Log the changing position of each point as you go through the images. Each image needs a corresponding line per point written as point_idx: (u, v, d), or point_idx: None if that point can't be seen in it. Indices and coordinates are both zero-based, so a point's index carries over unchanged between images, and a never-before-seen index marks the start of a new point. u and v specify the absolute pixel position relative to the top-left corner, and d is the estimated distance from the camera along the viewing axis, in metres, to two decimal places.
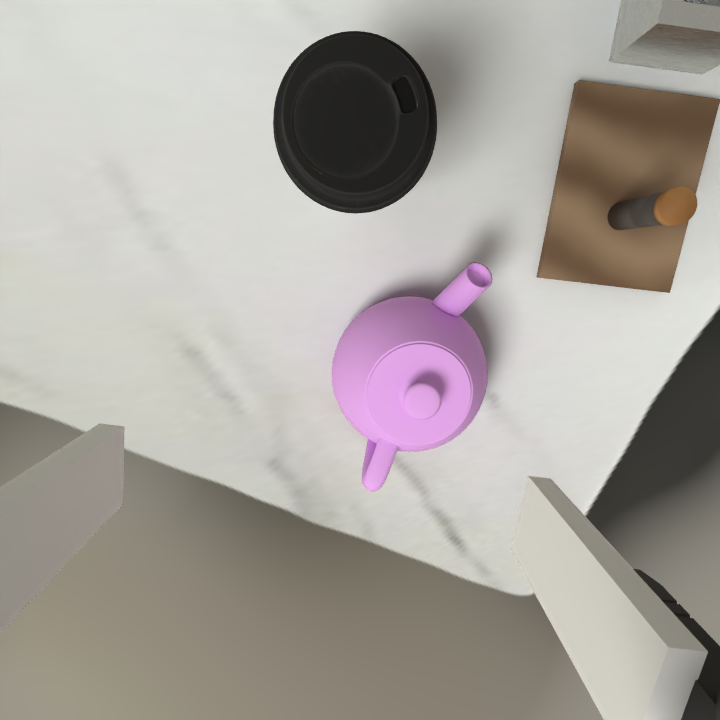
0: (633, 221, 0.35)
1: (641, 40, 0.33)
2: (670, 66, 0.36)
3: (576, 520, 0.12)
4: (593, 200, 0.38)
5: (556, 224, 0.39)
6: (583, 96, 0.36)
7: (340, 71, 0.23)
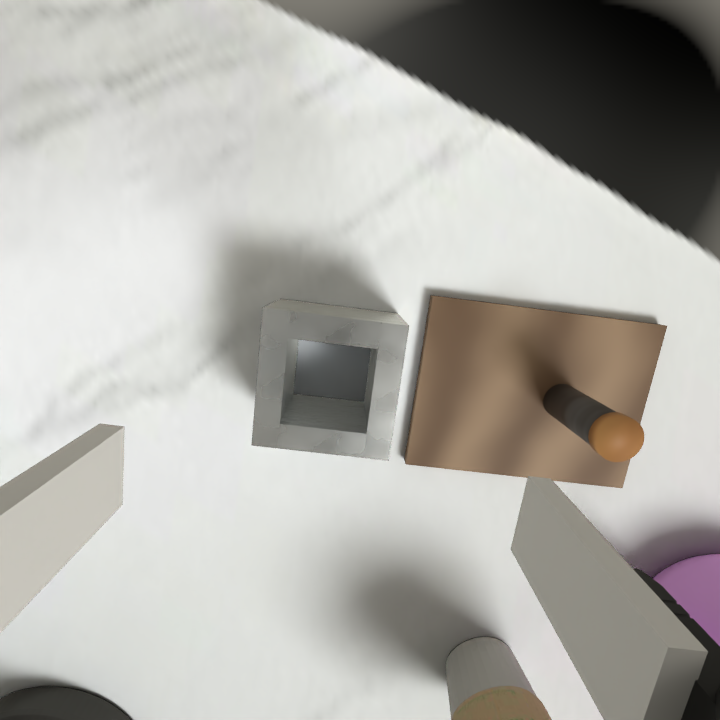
0: None
1: None
2: None
3: (576, 520, 0.12)
4: (538, 435, 0.31)
5: (561, 474, 0.32)
6: (422, 458, 0.31)
7: None
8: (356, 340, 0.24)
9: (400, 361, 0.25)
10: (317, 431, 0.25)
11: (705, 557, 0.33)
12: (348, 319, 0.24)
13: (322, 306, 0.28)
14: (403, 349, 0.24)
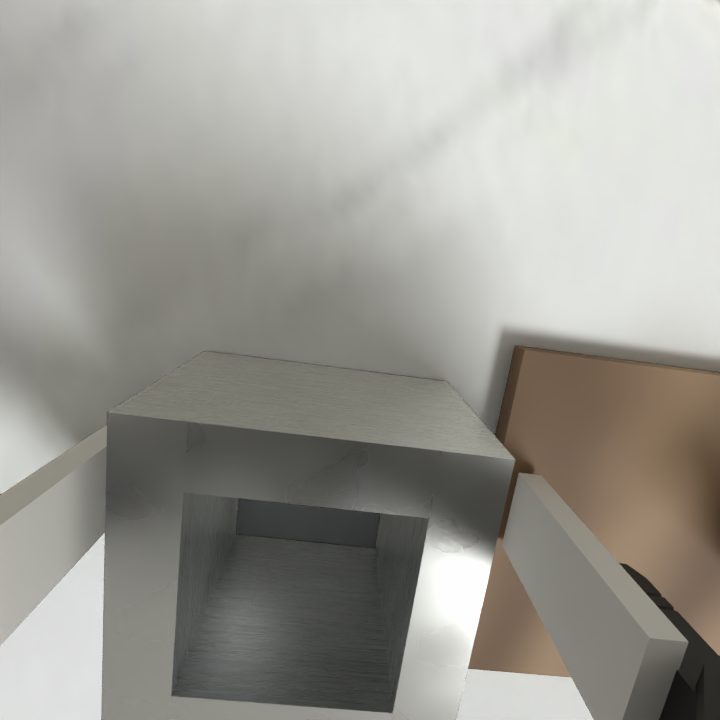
0: None
1: None
2: None
3: (564, 515, 0.12)
4: (712, 613, 0.16)
5: None
6: (488, 656, 0.16)
7: None
8: (371, 497, 0.09)
9: (486, 547, 0.09)
10: (267, 711, 0.10)
11: None
12: (349, 443, 0.09)
13: (290, 374, 0.13)
14: (496, 518, 0.09)
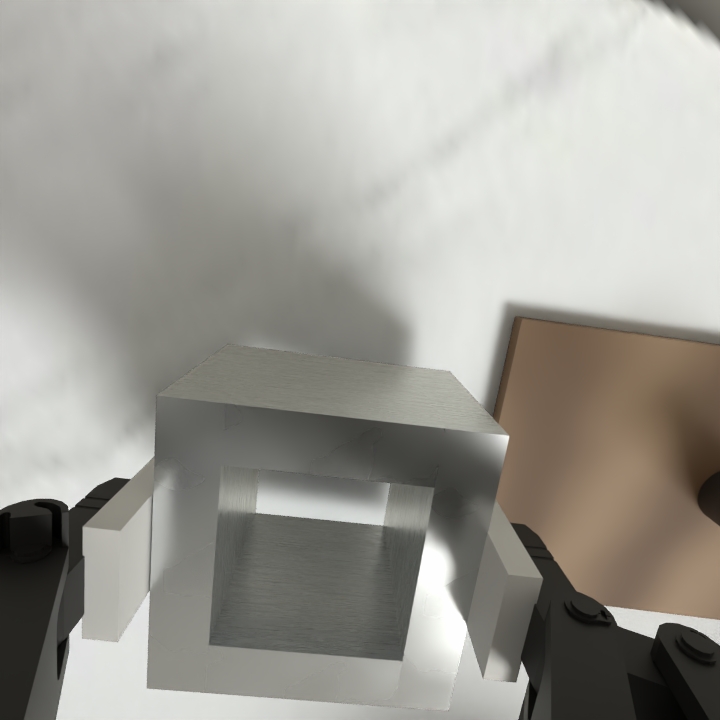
0: None
1: None
2: None
3: None
4: (684, 548, 0.19)
5: (716, 609, 0.20)
6: None
7: None
8: (384, 469, 0.10)
9: (484, 513, 0.11)
10: (292, 659, 0.11)
11: None
12: (365, 422, 0.10)
13: (307, 365, 0.14)
14: (493, 487, 0.10)
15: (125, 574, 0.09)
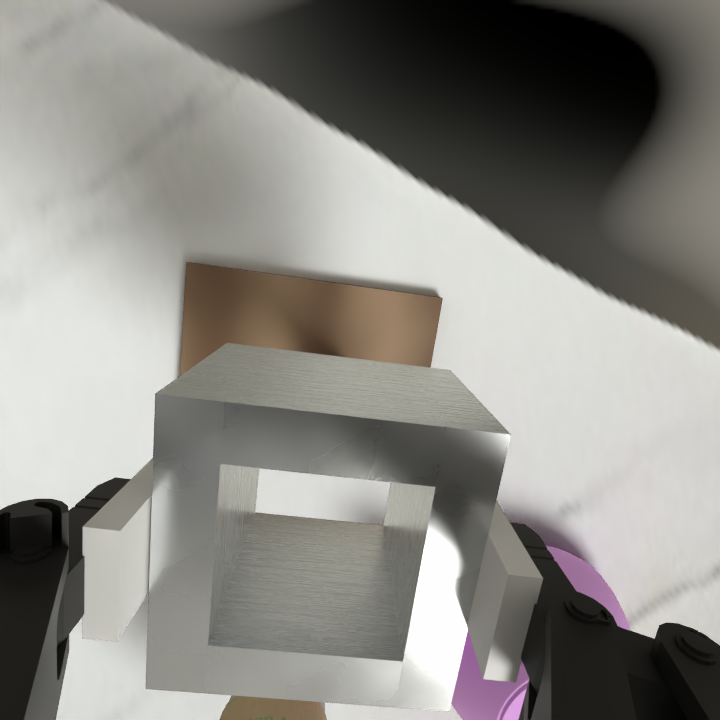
0: None
1: None
2: None
3: None
4: None
5: None
6: None
7: None
8: (384, 467, 0.10)
9: (485, 512, 0.11)
10: (292, 660, 0.11)
11: None
12: (365, 420, 0.10)
13: (307, 363, 0.14)
14: (494, 486, 0.10)
15: (125, 574, 0.09)
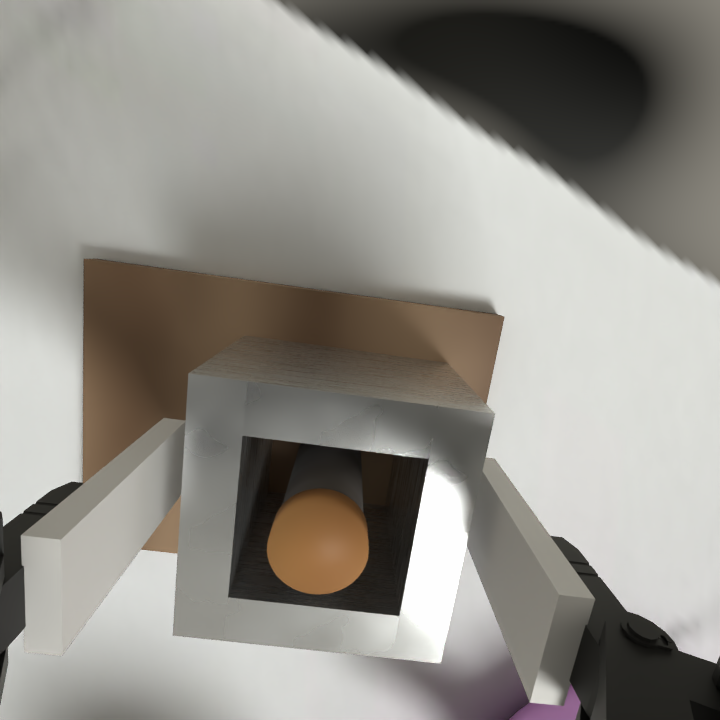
0: None
1: None
2: None
3: (507, 493, 0.13)
4: None
5: None
6: None
7: None
8: (384, 441, 0.12)
9: (473, 483, 0.12)
10: (301, 612, 0.13)
11: None
12: (368, 399, 0.11)
13: (317, 354, 0.16)
14: (480, 460, 0.12)
15: (70, 584, 0.09)
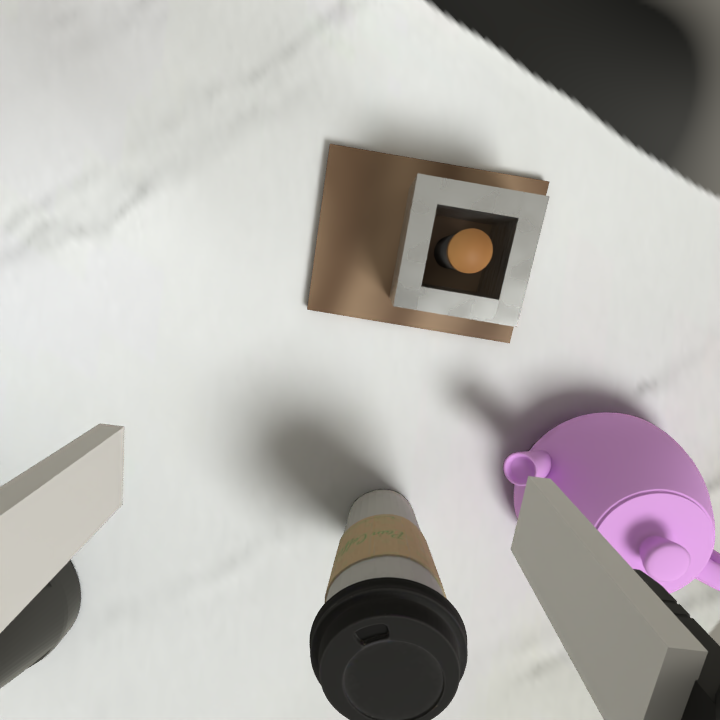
0: None
1: None
2: None
3: (576, 520, 0.12)
4: None
5: (452, 327, 0.34)
6: (322, 304, 0.34)
7: (349, 682, 0.25)
8: (499, 208, 0.27)
9: (537, 230, 0.27)
10: (454, 296, 0.28)
11: (587, 414, 0.35)
12: (494, 187, 0.26)
13: None
14: (541, 219, 0.27)
15: None
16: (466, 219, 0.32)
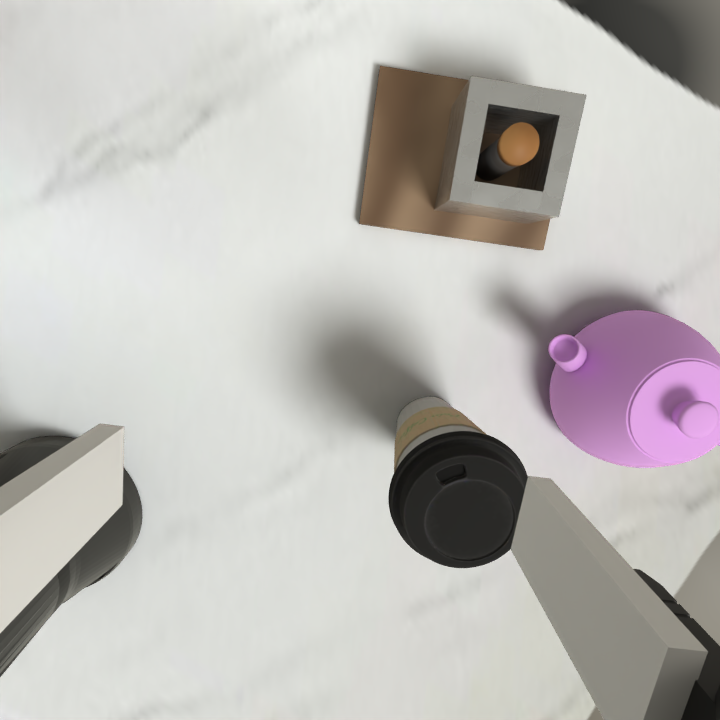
0: None
1: None
2: None
3: (576, 520, 0.12)
4: None
5: (491, 236, 0.38)
6: (373, 217, 0.37)
7: (430, 523, 0.28)
8: (543, 107, 0.30)
9: (576, 126, 0.30)
10: (503, 189, 0.31)
11: None
12: (538, 87, 0.30)
13: None
14: (580, 116, 0.30)
15: None
16: None
